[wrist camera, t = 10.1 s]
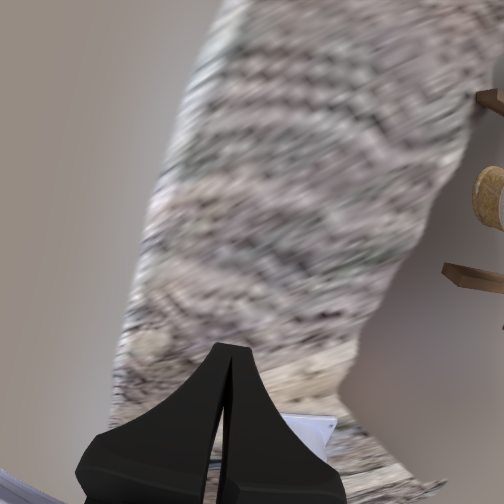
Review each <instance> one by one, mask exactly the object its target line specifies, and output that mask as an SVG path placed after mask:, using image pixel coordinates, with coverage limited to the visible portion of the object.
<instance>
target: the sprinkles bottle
mask: <svg viewBox="0 0 504 504" xmlns="http://www.w3.org/2000/svg"><path fill="white" fill-rule="evenodd" d="M472 196H473V197H472V201H473V208H474V212H475V214H476V216H477V217H478V219H479V220H480V221H481V222H482V223H483V224H484V225H486V226H489V227H495V228H497V229H499V230H501V231H503V232H504V169H501V168H499V167H496V166H490V167H488V168H485V169H484V170H483V171H482V172H481V173H480V175H479V176H478V177H477V179H476V181H475V184H474V187H473V193H472Z"/></svg>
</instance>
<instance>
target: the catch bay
mask: <svg viewBox="0 0 504 504" xmlns="http://www.w3.org/2000/svg"><path fill="white" fill-rule="evenodd" d="M476 102H478V103H480V104H482V105H484V106H485V107H487V108H489V109H491V110H493V111H495V112H496V113H498V114H500V115H502V116H504V92H503V91H501V90H500V89H490V90H484V91H479V92H477V99H476ZM441 273H442V274H443V275H445V276H446V277H447V278H448V279H450V280H451V281H452V282H453V283H454V284H456V285H457V286H458V287H463V288H470V289H476V290H483V291H489V292H495V293H502V294H504V275H503V274H498V273H493V272H489V271H484V270H479V269H474V268H469V267H465V266H459V265H455V264H450V263H444V266H443V270H442V272H441ZM503 330H504V326H503Z"/></svg>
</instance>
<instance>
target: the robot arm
mask: <svg viewBox="0 0 504 504" xmlns="http://www.w3.org/2000/svg"><path fill="white" fill-rule="evenodd" d="M223 407H224V413H223V444H222V462H221V470H220V477H219V484H218V491H217V499H216V504H347V499H346V493H345V489H344V486H343V483H342V481H341V478H340V475H339V473H338V472H337V471H336V470H335V469H333V468H332V467H331V466H329V465H328V464H327V459H326V452H325V445H326V443H327V441H328V439H329V438H330V436H331V434H332V432H333V430H334V428H335V426H336V424H337V422H338V421H337V418H336V417H334V416H314V415H298V414H286V413H279V412H278V410H277V409H276V407H275V405H274V404H273V402H272V400H271V398H270V397H269V395H268V393H267V391H266V389H265V387H264V385H263V382H262V380H261V378H260V375H259V373H258V370H257V367H256V365H255V361H254V358H253V354H252V350H251V349H250V347H243V346H237V345H231V344H224V343H218V342H217V343H215V344H214V345H213V347H212V349H211V351H210V352H209V354H208V355H207V357H206V358H205V360H204V361H203V362H202V364H201V365H200V366H199V367H198V368H197V370H196V371H195V372H194V373H193V374H192V375H191V376H190V377H189V378H188V379H187V380H186V381H185V382H184V383H183V385H182V386H180V387H179V388H178V389H177V390H176V391H175V392H174V393H173V394H171V395H170V396H169V397H168V398H166V399H165V400H164V401H163V402H161V403H160V404H158V405H157V406H155V407H154V408H153V409H151V410H150V411H148V412H146V413H145V414H143V415H141V416H139V417H137V418H136V419H134V420H132V421H130V422H128V423H126V424H124V425H122V426H120V427H117V428H115V429H112V430H110V431H107V432H105V433H102V434H99V435H97V436H96V437H95V438H94V439H93V441H92V442H91V444H90V445H89V446H88V448H87V449H86V450H85V452H84V454H83V456H82V458H81V460H80V462H79V464H78V466H77V468H76V471H75V475H76V478H77V480H78V482H79V483H80V485H81V487H82V489H83V491H84V492H85V494H86V496H87V498H86V501H85V503H84V504H203V499H204V492H205V486H206V479H207V473H208V467H209V461H210V456H211V452H212V448H213V444H214V440H215V437H216V433H217V429H218V426H219V422H220V418H221V415H222V411H223ZM0 504H66V503H64V502H62V501H60V500H58V499H56V498H53V497H51V496H49V495H47V494H45V493H43V492H41V491H39V490H37V489H35V488H34V487H32V486H30V485H28V484H26V483H24V482H23V481H21V480H19V479H18V478H16V477H14V476H12V475H11V474H9V473H8V472H6V471H4V470H3V469H1V468H0Z"/></svg>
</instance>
